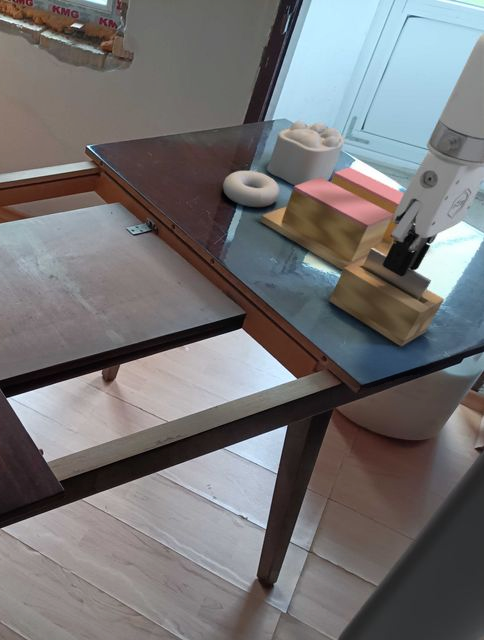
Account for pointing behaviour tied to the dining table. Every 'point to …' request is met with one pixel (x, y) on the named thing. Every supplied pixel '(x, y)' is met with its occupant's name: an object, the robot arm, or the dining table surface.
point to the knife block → (384, 304)
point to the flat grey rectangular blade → (408, 283)
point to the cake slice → (370, 193)
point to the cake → (331, 222)
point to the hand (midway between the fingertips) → (399, 267)
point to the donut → (251, 188)
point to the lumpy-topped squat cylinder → (305, 152)
